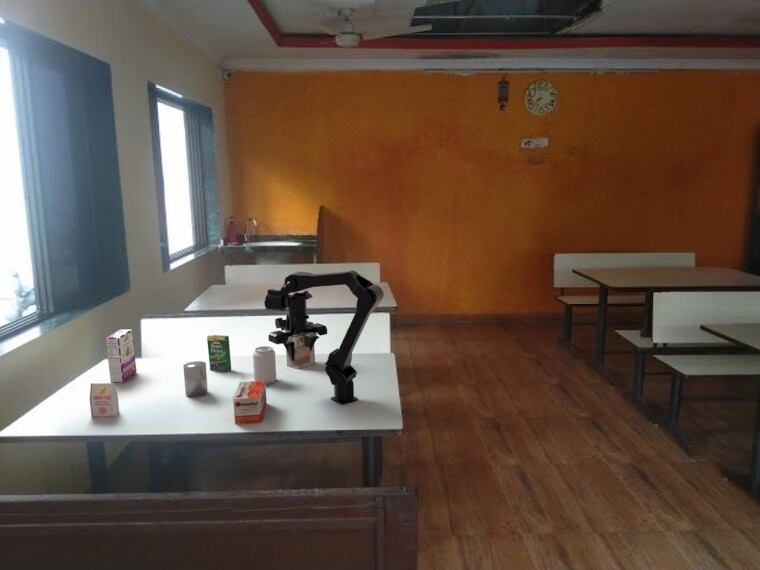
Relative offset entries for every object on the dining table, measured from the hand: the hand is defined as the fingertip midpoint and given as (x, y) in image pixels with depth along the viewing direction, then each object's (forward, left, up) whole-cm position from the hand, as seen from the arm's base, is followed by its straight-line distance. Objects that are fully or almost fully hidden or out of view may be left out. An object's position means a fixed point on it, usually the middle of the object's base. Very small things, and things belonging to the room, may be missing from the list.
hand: (299, 359), depth 193 cm
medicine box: (-4, +19, -12) cm, 23 cm away
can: (+19, +3, -12) cm, 23 cm away
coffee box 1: (+41, +10, -12) cm, 44 cm away
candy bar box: (+56, +40, -12) cm, 70 cm away
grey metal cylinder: (+23, +26, -12) cm, 37 cm away
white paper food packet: (+24, +54, -12) cm, 60 cm away
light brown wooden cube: (0, 0, -1) cm, 1 cm away
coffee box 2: (+27, -16, -12) cm, 34 cm away
